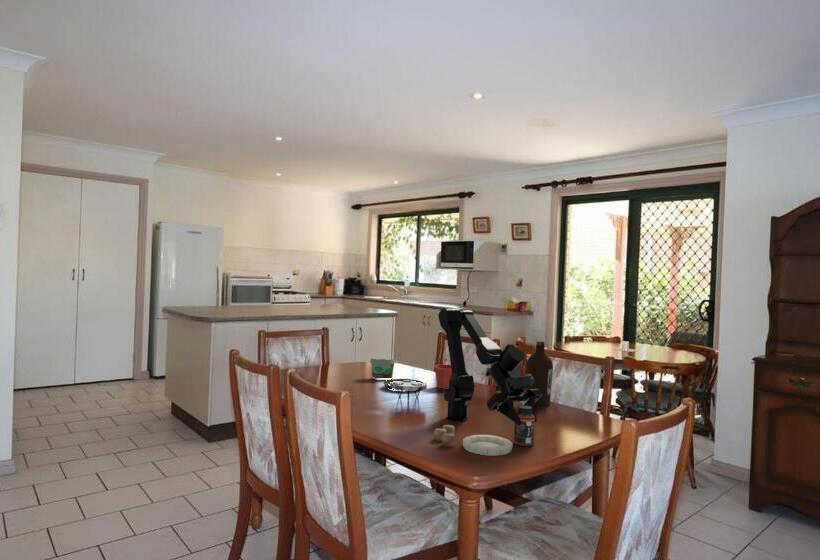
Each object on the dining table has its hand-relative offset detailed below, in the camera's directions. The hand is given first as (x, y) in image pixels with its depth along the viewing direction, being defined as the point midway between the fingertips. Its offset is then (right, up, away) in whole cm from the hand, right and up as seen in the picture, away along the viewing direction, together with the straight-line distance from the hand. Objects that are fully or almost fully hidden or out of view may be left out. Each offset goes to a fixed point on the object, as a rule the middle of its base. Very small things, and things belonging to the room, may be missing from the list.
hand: (528, 423), depth 164 cm
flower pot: (-19, -6, +81) cm, 83 cm away
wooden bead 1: (-26, -6, +3) cm, 27 cm away
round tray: (-13, -6, -4) cm, 15 cm away
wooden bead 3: (-24, -6, -2) cm, 25 cm away
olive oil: (+16, -7, +56) cm, 59 cm away
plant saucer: (-38, -5, +76) cm, 85 cm away
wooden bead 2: (-23, -6, +7) cm, 25 cm away
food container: (-49, -4, +94) cm, 107 cm away
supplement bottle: (-1, -7, +1) cm, 7 cm away
